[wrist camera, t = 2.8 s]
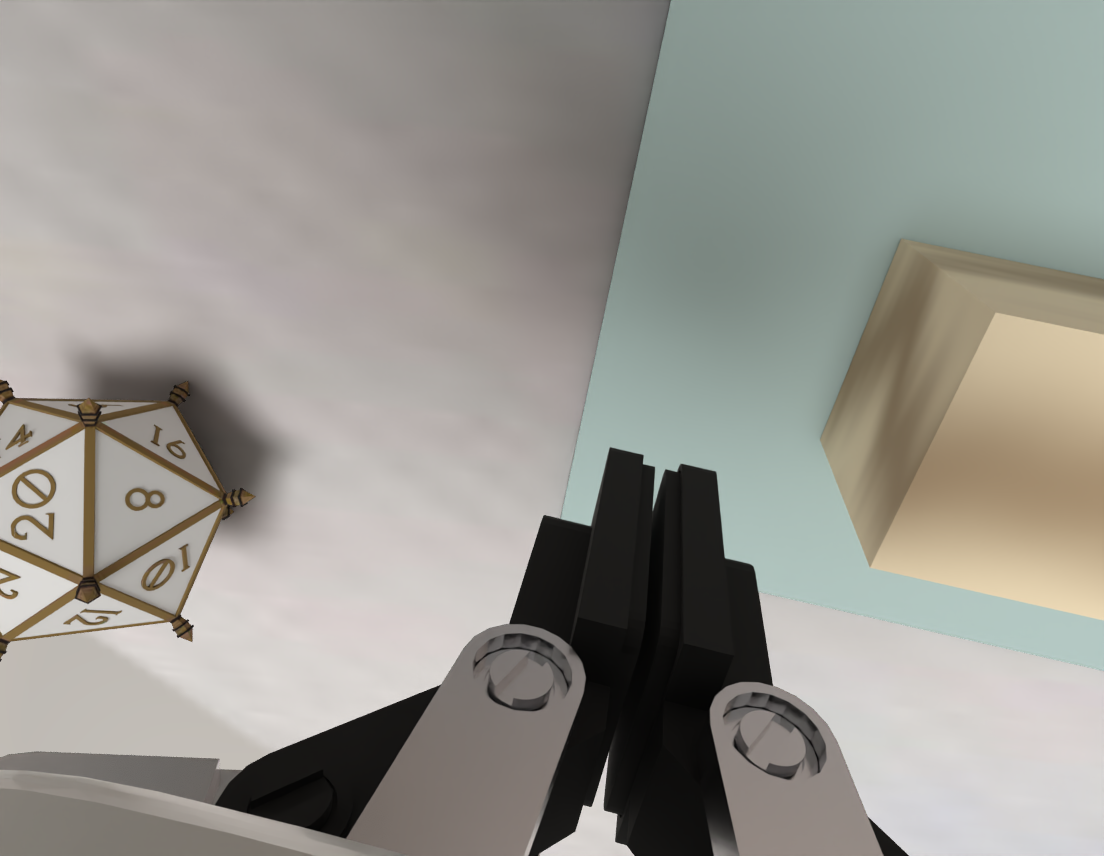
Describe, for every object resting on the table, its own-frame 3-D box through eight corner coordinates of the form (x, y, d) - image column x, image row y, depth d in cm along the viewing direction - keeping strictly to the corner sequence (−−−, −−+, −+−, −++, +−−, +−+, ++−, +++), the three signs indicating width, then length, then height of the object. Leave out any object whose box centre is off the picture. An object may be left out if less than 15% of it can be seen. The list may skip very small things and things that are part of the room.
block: (900, 238, 18) (995, 312, 13) (1139, 286, 18) (1338, 383, 13) (819, 439, 21) (869, 567, 16) (1024, 483, 21) (1145, 629, 15)
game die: (185, 379, 28) (-150, 321, 20) (339, 408, 24) (5, 351, 15) (143, 600, 28) (-214, 643, 19) (291, 667, 24) (-74, 758, 15)
